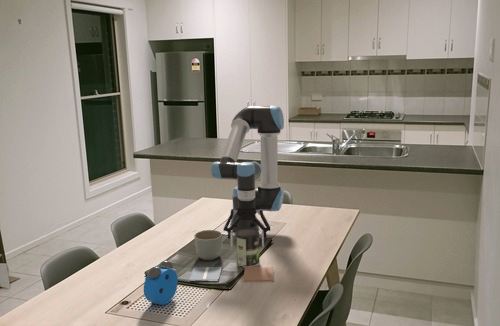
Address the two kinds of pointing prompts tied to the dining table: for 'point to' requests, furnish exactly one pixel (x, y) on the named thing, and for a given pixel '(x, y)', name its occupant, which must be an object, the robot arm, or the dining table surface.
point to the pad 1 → (205, 273)
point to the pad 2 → (258, 274)
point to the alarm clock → (161, 284)
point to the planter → (208, 244)
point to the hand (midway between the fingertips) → (247, 245)
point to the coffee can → (247, 247)
